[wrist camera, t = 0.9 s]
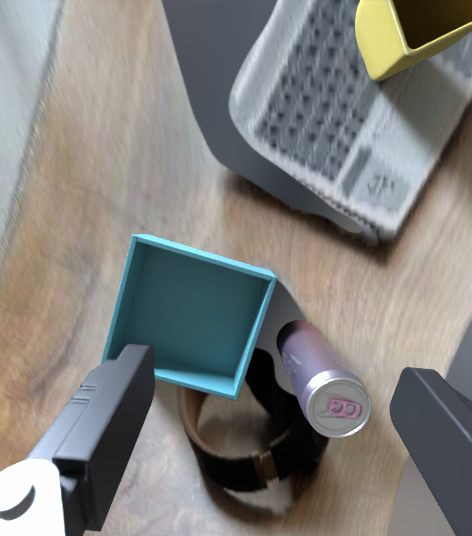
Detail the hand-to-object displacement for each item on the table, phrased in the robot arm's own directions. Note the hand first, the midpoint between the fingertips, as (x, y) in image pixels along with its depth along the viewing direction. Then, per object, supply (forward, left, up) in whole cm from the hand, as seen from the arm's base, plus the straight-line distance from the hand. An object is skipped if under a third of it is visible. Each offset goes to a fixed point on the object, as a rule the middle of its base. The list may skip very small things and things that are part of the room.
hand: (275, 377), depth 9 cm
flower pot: (+9, -30, -28) cm, 42 cm away
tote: (0, +9, -28) cm, 29 cm away
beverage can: (-13, +1, -28) cm, 31 cm away
